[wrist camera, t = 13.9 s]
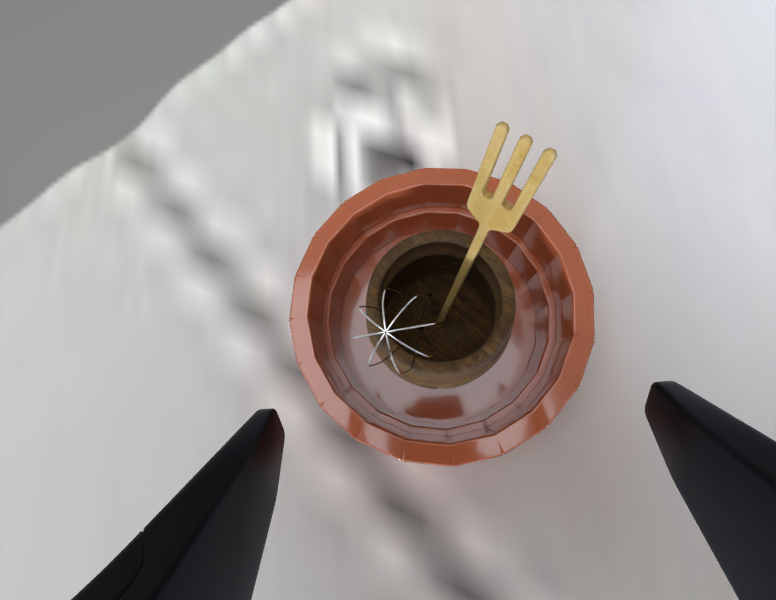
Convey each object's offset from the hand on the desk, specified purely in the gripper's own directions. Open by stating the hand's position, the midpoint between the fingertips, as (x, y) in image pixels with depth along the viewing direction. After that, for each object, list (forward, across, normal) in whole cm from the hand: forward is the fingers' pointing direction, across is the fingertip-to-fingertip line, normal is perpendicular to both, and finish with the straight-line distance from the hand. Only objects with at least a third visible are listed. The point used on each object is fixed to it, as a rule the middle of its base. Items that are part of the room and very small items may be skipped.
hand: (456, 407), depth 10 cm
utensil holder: (+10, 0, +5) cm, 11 cm away
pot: (+10, 0, +5) cm, 11 cm away
